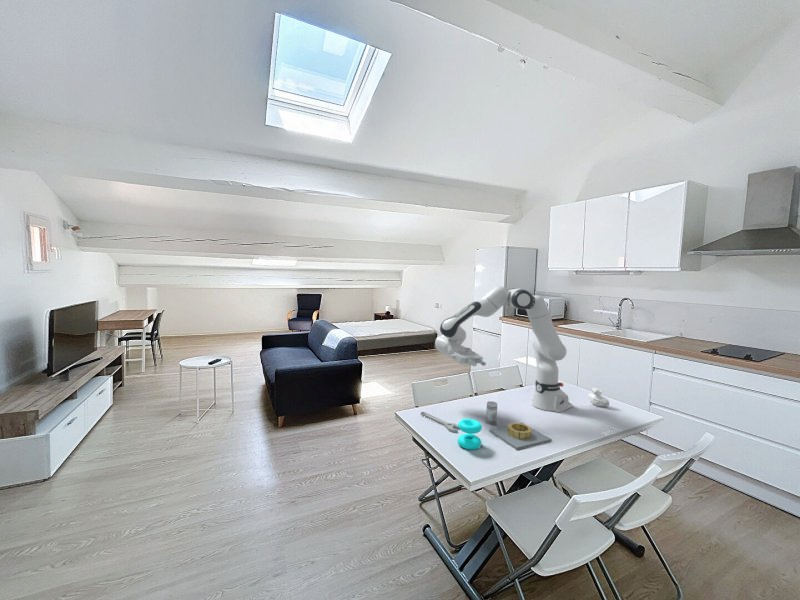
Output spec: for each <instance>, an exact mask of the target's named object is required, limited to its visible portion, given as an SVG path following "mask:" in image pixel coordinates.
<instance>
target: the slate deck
mask: <svg viewBox="0 0 800 600" xmlns="http://www.w3.org/2000/svg"><path fill="white" fill-rule="evenodd" d="M520 423H522V424H525V423H524V422H520ZM508 425H509V424H508ZM508 425H504V426H503V425H502V426H499V427H498V426H497V427H495V428H494V427H493V428H490V429H488V432H489V433H490V434H493V435H494V436H496V437H497V438H498V439H500V440H501V441H503V442H504V443H506V445H509V446H510V447H512V449H514V450H516V451H517V450H521V449H526V448H530V447H533V446H537V445H538V446H539V445H542V444H546V443H550V442H552V440H553V439H552V438H550V437H549V436H547V435H545V434H543V433H542V432H540V431H538V430H537V429H535V428H533V427H531V429H532V436H531V438H530V439H517V438H514V437H512V436H510V435H509V434H508ZM529 446H530V447H529Z"/></svg>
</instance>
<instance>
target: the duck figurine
mask: <svg viewBox="0 0 800 600" xmlns="http://www.w3.org/2000/svg"><path fill="white" fill-rule="evenodd" d="M591 391H592V392H590V393H589V394H588V398H589V400H590V401H589V402H590V403H591V404H592V405H593V406H595V405H596V406H595V407H601V408H602V407H603V408H608V407H609V406H610V401H609V399H608V398H606V397H604V396H602V393H603V390H601V389H600V388H599V387H598V388H597V387H592V389H591Z"/></svg>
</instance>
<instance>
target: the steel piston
mask: <svg viewBox="0 0 800 600" xmlns="http://www.w3.org/2000/svg"><path fill="white" fill-rule="evenodd" d="M485 417H486V419H485V423H486V424H487V425H490V426H495V425H497V422H498V421H497V419H498V418H497V417H498V402H495V401H487V402H486V416H485Z"/></svg>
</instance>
